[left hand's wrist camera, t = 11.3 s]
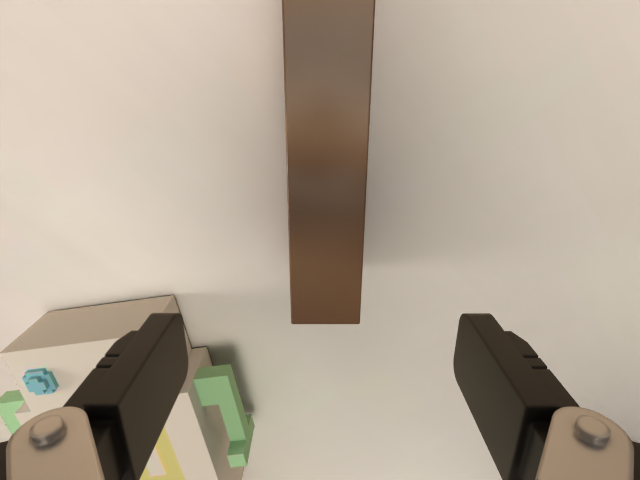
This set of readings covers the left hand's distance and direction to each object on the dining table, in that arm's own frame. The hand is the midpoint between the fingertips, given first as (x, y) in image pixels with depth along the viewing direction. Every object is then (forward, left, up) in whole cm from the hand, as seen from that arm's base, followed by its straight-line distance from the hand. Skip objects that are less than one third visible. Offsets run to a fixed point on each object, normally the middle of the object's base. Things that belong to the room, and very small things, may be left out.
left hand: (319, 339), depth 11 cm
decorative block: (-10, +27, -21) cm, 35 cm away
